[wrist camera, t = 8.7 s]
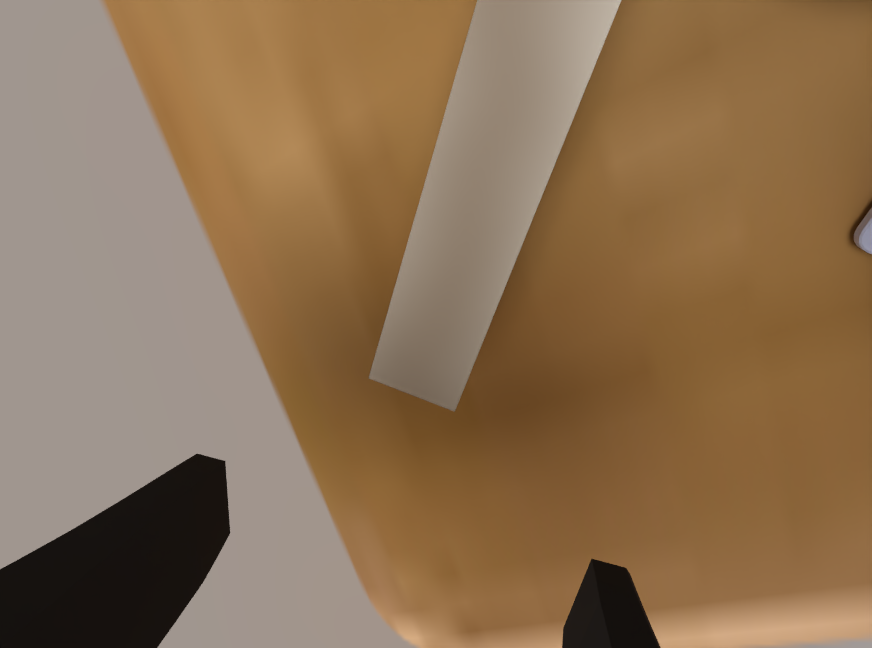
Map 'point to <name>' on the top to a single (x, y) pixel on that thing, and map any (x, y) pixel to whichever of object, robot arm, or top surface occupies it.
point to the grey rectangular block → (485, 185)
